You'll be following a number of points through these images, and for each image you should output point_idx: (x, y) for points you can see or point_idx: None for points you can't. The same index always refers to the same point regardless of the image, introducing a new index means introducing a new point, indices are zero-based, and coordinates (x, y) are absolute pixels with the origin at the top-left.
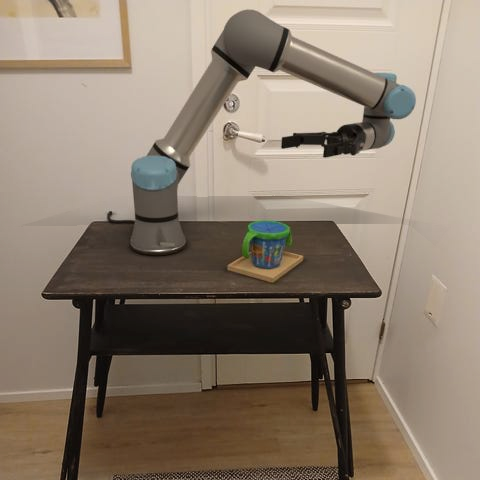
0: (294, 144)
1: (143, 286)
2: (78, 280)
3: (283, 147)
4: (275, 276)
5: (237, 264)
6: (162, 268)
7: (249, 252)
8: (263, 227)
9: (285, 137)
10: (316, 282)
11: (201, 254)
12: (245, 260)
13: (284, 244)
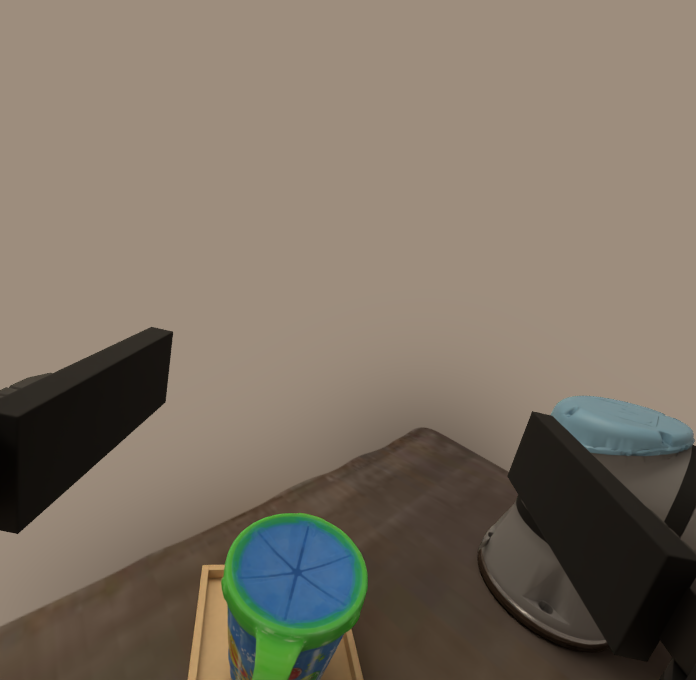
0: (569, 549)
1: (376, 466)
2: (442, 448)
3: (511, 470)
4: (201, 576)
5: None
6: (420, 515)
7: (361, 674)
8: (321, 576)
9: (539, 418)
10: (69, 654)
11: (449, 608)
12: (340, 642)
13: (228, 616)
